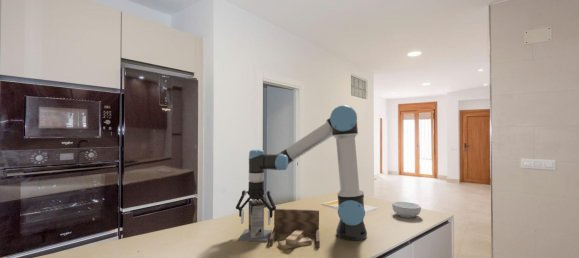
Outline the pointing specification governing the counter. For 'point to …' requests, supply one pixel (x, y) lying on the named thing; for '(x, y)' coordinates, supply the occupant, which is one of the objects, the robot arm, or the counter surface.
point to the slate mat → (246, 237)
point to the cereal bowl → (406, 209)
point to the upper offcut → (294, 238)
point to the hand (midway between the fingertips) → (255, 223)
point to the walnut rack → (295, 223)
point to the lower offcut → (301, 242)
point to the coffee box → (256, 218)
